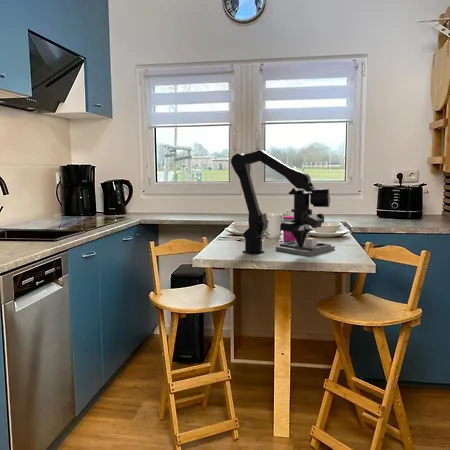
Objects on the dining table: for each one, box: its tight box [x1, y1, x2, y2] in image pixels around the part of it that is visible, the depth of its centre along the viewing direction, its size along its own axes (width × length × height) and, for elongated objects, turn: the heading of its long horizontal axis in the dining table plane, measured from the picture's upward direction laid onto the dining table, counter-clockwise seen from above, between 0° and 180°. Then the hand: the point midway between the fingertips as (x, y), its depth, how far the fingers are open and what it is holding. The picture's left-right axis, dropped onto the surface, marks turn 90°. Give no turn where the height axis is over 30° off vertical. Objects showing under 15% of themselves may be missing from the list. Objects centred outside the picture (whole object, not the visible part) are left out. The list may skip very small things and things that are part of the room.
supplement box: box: [282, 215, 295, 243], centre depth 204 cm, size 6×6×12 cm
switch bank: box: [275, 241, 336, 257], centre depth 185 cm, size 18×16×2 cm
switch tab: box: [305, 237, 317, 248], centre depth 179 cm, size 3×3×4 cm
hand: (300, 247), depth 174 cm, fingers closed
